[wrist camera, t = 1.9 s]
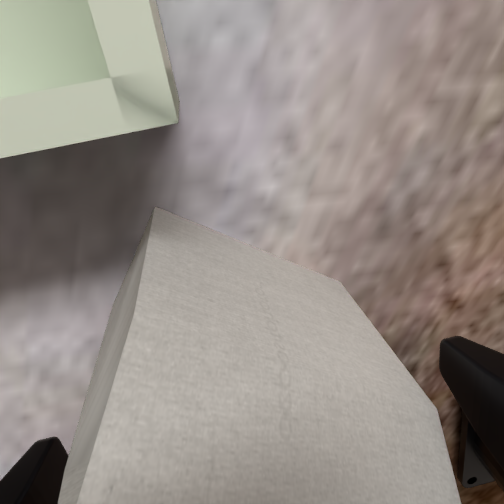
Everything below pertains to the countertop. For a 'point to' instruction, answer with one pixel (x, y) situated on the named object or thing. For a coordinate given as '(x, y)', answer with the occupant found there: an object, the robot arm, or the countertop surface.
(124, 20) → the box
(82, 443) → the tea bag
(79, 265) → the countertop surface
